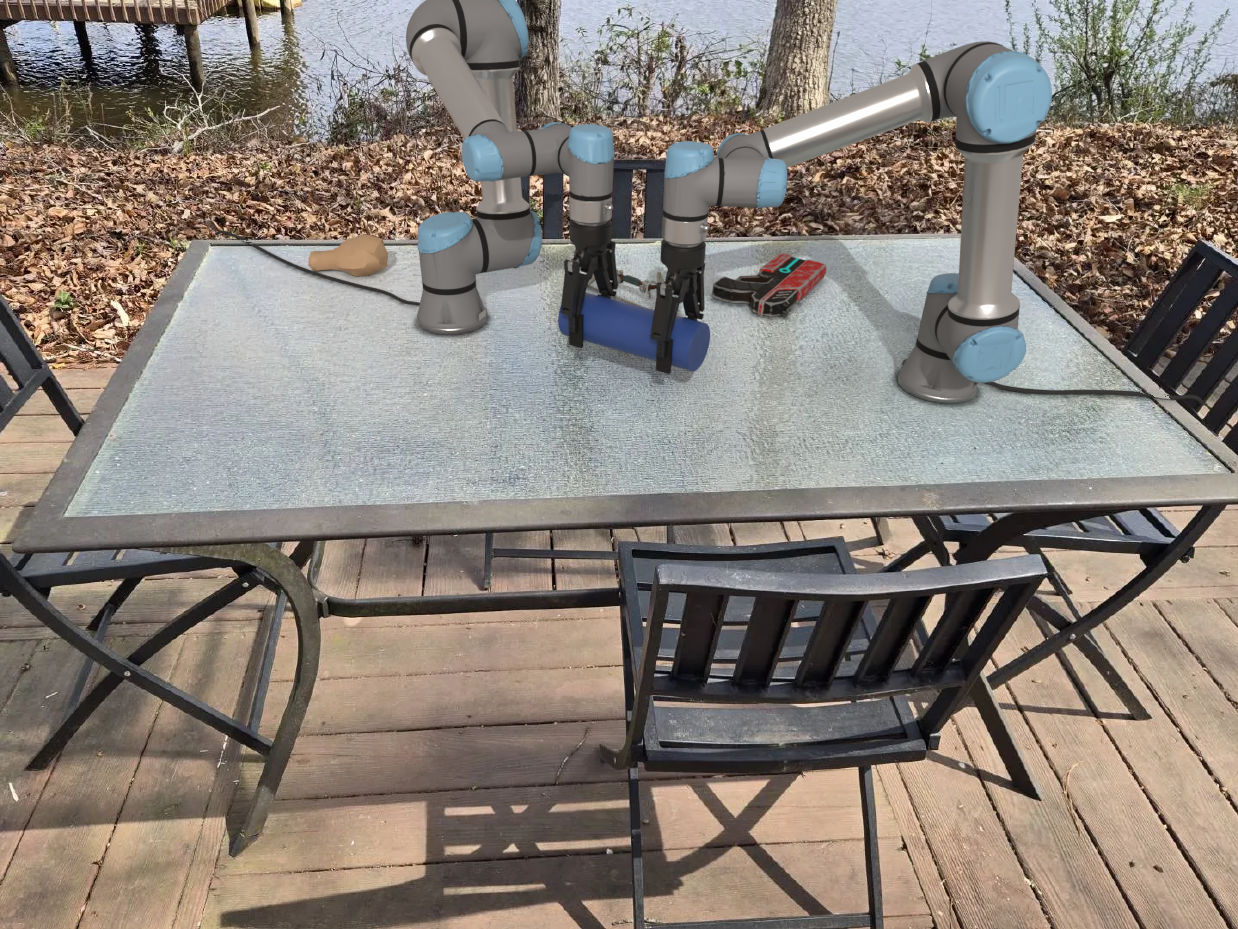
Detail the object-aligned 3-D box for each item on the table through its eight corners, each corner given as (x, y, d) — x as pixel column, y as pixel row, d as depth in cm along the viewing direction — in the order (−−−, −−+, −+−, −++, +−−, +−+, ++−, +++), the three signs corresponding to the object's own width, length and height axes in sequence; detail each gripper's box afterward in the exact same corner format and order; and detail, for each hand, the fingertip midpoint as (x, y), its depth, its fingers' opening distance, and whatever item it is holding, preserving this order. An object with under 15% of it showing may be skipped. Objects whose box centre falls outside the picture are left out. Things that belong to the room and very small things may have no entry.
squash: (388, 280, 216) (377, 247, 210) (309, 287, 218) (296, 255, 212) (396, 257, 224) (386, 225, 218) (320, 264, 226) (308, 233, 219)
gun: (708, 284, 207) (784, 305, 199) (760, 245, 229) (831, 262, 221) (706, 302, 209) (781, 323, 201) (758, 261, 231) (828, 278, 223)
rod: (558, 342, 165) (557, 298, 160) (583, 325, 172) (583, 283, 167) (686, 379, 154) (689, 333, 149) (708, 360, 160) (712, 315, 156)
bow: (697, 327, 197) (701, 285, 192) (692, 329, 196) (696, 287, 191) (576, 279, 219) (576, 241, 213) (571, 281, 218) (571, 242, 212)
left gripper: (575, 241, 145) (575, 363, 157) (639, 207, 160) (635, 321, 173) (537, 232, 148) (541, 353, 160) (604, 200, 163) (602, 312, 176)
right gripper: (673, 264, 137) (665, 391, 150) (731, 226, 153) (720, 344, 165) (632, 254, 140) (628, 379, 153) (692, 218, 156) (684, 334, 168)
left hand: (589, 336), depth 166 cm, fingers closed on rod, 9 cm apart
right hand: (675, 361), depth 159 cm, fingers closed on rod, 9 cm apart
